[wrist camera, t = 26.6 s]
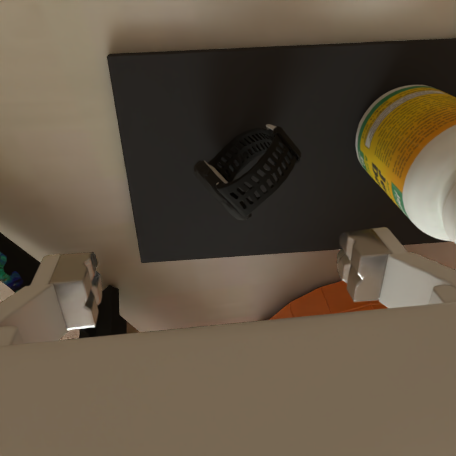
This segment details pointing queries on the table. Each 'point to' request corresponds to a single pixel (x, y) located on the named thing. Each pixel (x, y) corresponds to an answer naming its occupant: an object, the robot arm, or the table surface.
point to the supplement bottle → (414, 154)
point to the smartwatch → (228, 189)
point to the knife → (24, 273)
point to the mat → (258, 118)
